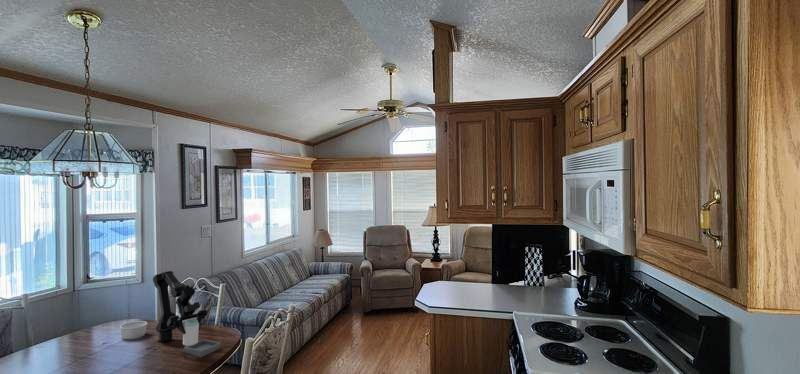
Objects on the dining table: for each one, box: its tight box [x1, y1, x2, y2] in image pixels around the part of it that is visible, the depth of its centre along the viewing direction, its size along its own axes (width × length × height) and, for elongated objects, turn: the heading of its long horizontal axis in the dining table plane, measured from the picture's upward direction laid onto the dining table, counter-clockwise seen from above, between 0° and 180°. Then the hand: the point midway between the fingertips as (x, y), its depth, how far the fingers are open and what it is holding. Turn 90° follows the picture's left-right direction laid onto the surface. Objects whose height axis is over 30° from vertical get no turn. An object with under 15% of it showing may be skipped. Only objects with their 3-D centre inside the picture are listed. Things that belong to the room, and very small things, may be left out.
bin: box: [183, 339, 222, 358], centre depth 203 cm, size 13×13×3 cm
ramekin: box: [119, 320, 148, 340], centre depth 220 cm, size 13×13×7 cm
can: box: [182, 318, 200, 347], centre depth 195 cm, size 7×7×12 cm
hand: (192, 331), depth 194 cm, fingers closed on can, 7 cm apart
